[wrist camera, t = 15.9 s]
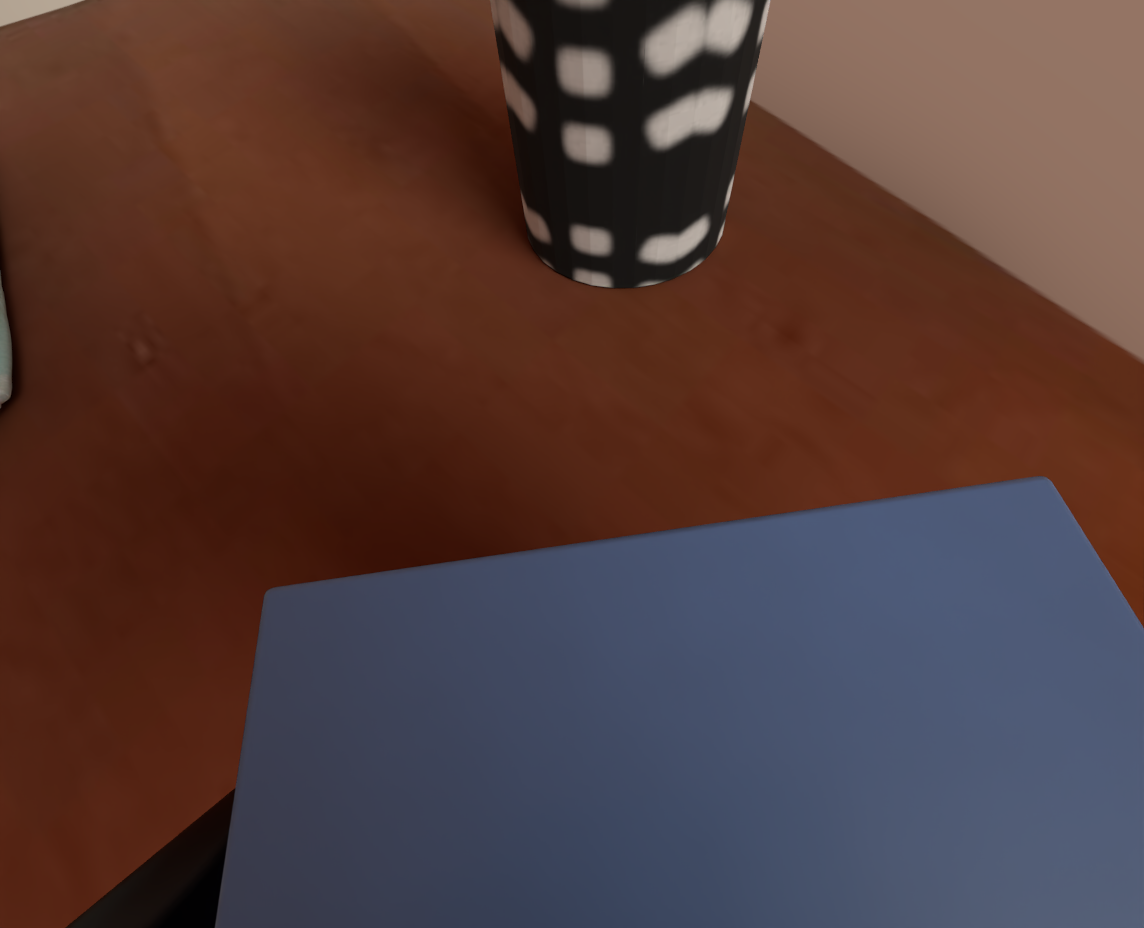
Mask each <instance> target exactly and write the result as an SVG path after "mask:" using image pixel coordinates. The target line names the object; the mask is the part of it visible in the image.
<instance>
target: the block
mask: <svg viewBox="0 0 1144 928" xmlns="http://www.w3.org/2000/svg"><path fill="white" fill-rule="evenodd" d="M215 928H1144V628H1143V626H1142V625H1141V623H1140V621H1139V620H1138V618H1137V617H1136V615H1135V613H1134V612H1133V610H1132V609H1131V607H1130V606H1129V604H1128V602H1127V601H1126V599H1125V598H1124V596H1123V594H1122V593H1121V591H1120V590H1119V588H1118V586H1117V585H1116V583H1115V582H1114V580H1113V579H1112V577H1111V575H1110V574H1109V572H1108V571H1107V569H1106V567H1105V566H1104V564H1103V563H1102V561H1101V559H1100V558H1099V556H1098V555H1097V553H1096V552H1095V550H1094V548H1093V547H1092V545H1091V544H1090V542H1089V540H1088V539H1087V537H1086V536H1085V534H1084V532H1083V531H1082V529H1081V528H1080V526H1079V525H1078V523H1077V521H1076V520H1075V518H1074V517H1073V515H1072V513H1071V512H1070V510H1069V509H1068V507H1067V505H1066V504H1065V502H1064V501H1063V499H1062V498H1061V496H1060V494H1059V493H1058V491H1057V490H1056V488H1055V486H1054V485H1053V483H1052V482H1051V481H1050V480H1049V479H1048V478H1046V477H1042V476H1037V477H1029V478H1022V479H1015V480H1009V481H1002V482H995V483H988V484H981V485H974V486H967V487H961V488H954V489H947V490H940V491H933V492H926V493H919V494H912V495H906V496H899V497H892V498H885V499H878V500H871V501H864V502H858V503H851V504H844V505H837V506H830V507H823V508H816V509H809V510H803V511H796V512H789V513H782V514H775V515H768V516H761V517H755V518H748V519H741V520H734V521H727V522H720V523H713V524H706V525H700V526H693V527H686V528H679V529H672V530H665V531H658V532H652V533H645V534H638V535H631V536H624V537H617V538H610V539H603V540H597V541H590V542H583V543H576V544H569V545H562V546H555V547H549V548H542V549H535V550H528V551H521V552H514V553H507V554H500V555H494V556H487V557H480V558H473V559H466V560H459V561H452V562H446V563H439V564H432V565H425V566H418V567H411V568H404V569H398V570H391V571H384V572H377V573H370V574H363V575H356V576H349V577H343V578H336V579H329V580H322V581H315V582H308V583H301V584H295V585H288V586H281V587H275V588H271V589H269V590H267V591H266V593H265V595H264V600H263V607H262V613H261V620H260V627H259V634H258V640H257V647H256V654H255V661H254V667H253V674H252V681H251V688H250V694H249V701H248V708H247V714H246V721H245V728H244V735H243V741H242V748H241V755H240V762H239V768H238V775H237V782H236V789H235V795H234V802H233V809H232V816H231V822H230V829H229V836H228V843H227V849H226V856H225V863H224V870H223V876H222V883H221V890H220V897H219V903H218V910H217V917H216V923H215Z"/></svg>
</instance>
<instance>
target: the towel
mask: <svg viewBox="0 0 1144 928" xmlns="http://www.w3.org/2000/svg"><path fill="white" fill-rule="evenodd" d="M11 392H12V342H11V334H10V329H9V324H8V319H7V312H6V304H5V298H4V292H3V289H2V284H1V272H0V409H1V404H2V403H4V402H5V401H7V400H8V399H9V398H10V397H11Z"/></svg>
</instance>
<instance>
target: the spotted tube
mask: <svg viewBox="0 0 1144 928" xmlns="http://www.w3.org/2000/svg"><path fill="white" fill-rule="evenodd" d="M490 4H491V10H492V16H493V22H494V29H495V35H496V41H497V47H498V53H499V60H500V66H501V72H502V78H503V85H504V91H505V97H506V103H507V110H508V116H509V122H510V128H511V135H512V141H513V147H514V153H515V160H516V166H517V172H518V178H519V184H520V191H521V197H522V203H523V209H524V216H525V222H526V228H527V234H528V239H529V241H530V243H531V245H532V247H533V250H534V251H535V252H536V254H537V255H538V256H539V257H540V258H541V259H542V261H543V262H544V263H546V264H547V265H548V266H550V267H551V268H552V269H554V270H555V271H556V272H558V273H560V274H562V275H564V276H567V277H569V278H571V279H573V280H576V281H579V282H583V283H586V284H590V285H594V286H602V287H609V288H635V287H641V286H648V285H654V284H658V283H661V282H664V281H667V280H671V279H674V278H676V277H678V276H680V275H682V274H684V273H686V272H688V271H690V270H692V269H693V268H694V267H696V266H697V265H698V264H700V263H701V262H702V261H704V260H705V259H706V258H707V257H708V256H709V254H710V253H711V252H712V251H713V250H714V249H715V248H716V246H717V244H718V242H719V240H720V238H721V236H722V232H723V228H724V223H725V218H726V213H727V208H728V203H729V199H730V194H731V189H732V184H733V179H734V174H735V170H736V165H737V160H738V155H739V150H740V145H741V141H742V136H743V131H744V126H745V121H746V116H747V111H748V107H749V102H750V97H751V92H752V87H753V82H754V77H755V73H756V68H757V63H758V58H759V53H760V48H761V44H762V39H763V34H764V29H765V24H766V19H767V15H768V10H769V5H770V0H490Z"/></svg>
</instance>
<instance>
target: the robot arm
mask: <svg viewBox="0 0 1144 928" xmlns="http://www.w3.org/2000/svg"><path fill="white" fill-rule="evenodd" d="M235 789H236V788H235ZM235 789H233V790H232V791H231V792H230V793H229V794H227V795H226V796H225V797H224V798H223V799H221V800H220V801H219V802H218V803H216V804H215V805H214V806H213V807H212V808H210V809H209V810H208V811H207V812H206V813H204V814H203V815H202V816H201V817H199V818H198V819H197V820H196V821H195V822H193V823H192V824H191V825H190V826H188V827H187V828H186V829H185V830H184V831H182V832H181V833H180V834H179V835H178V836H176V837H175V838H174V839H173V840H171V841H170V842H169V843H168V844H167V845H165V846H164V847H163V848H162V849H161V850H159V851H158V852H157V853H156V854H154V855H153V856H152V857H151V858H150V859H148V860H147V861H146V862H145V863H143V864H142V865H141V866H140V867H139V868H137V869H136V870H135V871H134V872H133V873H131V874H130V875H129V876H128V877H126V878H125V879H124V880H123V881H122V882H120V883H119V884H118V885H117V886H115V887H114V888H113V889H112V890H111V891H109V892H108V893H107V894H106V895H105V896H103V897H102V898H101V899H100V900H98V901H97V902H96V903H95V904H94V905H92V906H91V907H90V908H89V909H87V910H86V911H85V912H84V913H83V914H81V915H80V916H79V917H78V918H77V919H75V920H74V921H73V922H72V923H70V924H69V925H68V926H67V927H66V928H215V923H216V917H217V910H218V903H219V897H220V890H221V883H222V876H223V870H224V863H225V856H226V849H227V843H228V836H229V829H230V822H231V816H232V809H233V802H234V795H235Z"/></svg>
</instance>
